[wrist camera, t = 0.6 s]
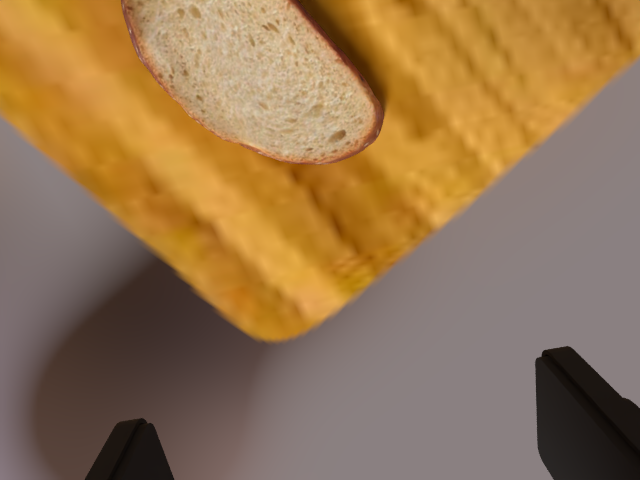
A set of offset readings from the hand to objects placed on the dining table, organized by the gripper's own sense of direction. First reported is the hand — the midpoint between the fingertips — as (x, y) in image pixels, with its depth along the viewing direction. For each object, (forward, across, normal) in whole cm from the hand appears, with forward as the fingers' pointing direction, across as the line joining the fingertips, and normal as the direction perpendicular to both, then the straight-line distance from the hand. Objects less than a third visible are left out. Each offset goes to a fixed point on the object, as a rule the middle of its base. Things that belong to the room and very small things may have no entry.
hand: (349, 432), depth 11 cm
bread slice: (+28, +3, -11) cm, 31 cm away
